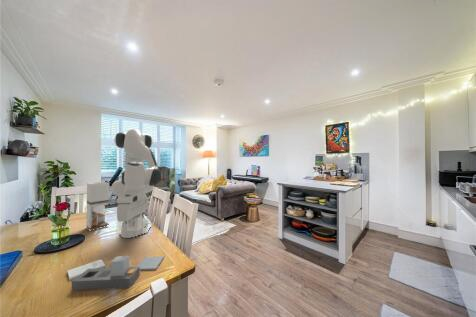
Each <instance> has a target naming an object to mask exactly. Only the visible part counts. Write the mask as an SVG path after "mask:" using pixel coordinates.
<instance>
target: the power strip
mask: <svg viewBox="0 0 476 317" xmlns="http://www.w3.org/2000/svg"><path fill="white" fill-rule="evenodd" d="M139 276H141V271H140V267H136V266H129V270H128V271H127V273H126V274H125V275H124V276H111V267H104V268H96V269H87V270H86V271H85V272H83V273H82V274H81V275H80V276H78V277H77V278H75V279H72V280H71V292H72V291H73V292H74V291H89V290H90V291H93V290H110V289H111V290H113V289H130V288H131V286H133V284H134V283H135V281H136V280H137V279H138V277H139Z"/></svg>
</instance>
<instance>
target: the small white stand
mask: <svg viewBox="0 0 476 317" xmlns="http://www.w3.org/2000/svg"><path fill="white" fill-rule="evenodd" d="M109 204H110V182H109V181H108V182H107V181H97V182H96V181H95V182H86V222H85V224H86V227H87V228H88V229H90V230H93V229H97V228H100V227H104V226H107V225H109V224H110V223H108V222H106V205H109ZM109 226H110V225H109ZM87 228H86V229H87ZM88 229H87V230H88Z"/></svg>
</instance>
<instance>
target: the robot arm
mask: <svg viewBox="0 0 476 317" xmlns="http://www.w3.org/2000/svg"><path fill="white" fill-rule="evenodd" d="M114 143H115V146H116V147H117V148H119V149H124V152H125V154H124V170H123V171H121V179H118V180H115V181H114V182H113V183H112V184H111V187H110V189H111V192H112V193H113V194H114V195H115V196H117V197H118V198H116V204H117V206H116V219H117V221H118V222H121V229H120V232H119V233H118V235H119V234H120V235H119V236H121V238H123V239H125V238H126V239H129V238H131V237H132V238H136V237H139V236H138V235H140V236H142V235H141V234H143V235H145V234H144V233H147V232H148V233H149V231H150V230H149V229H148V228H147V227H148V225H149V219H147V218H146V217H145V216H144V215H146V211H147V210H148V208H149V199H148V198H149V197H148V196H147V193H151V192H152V191H153V190H154V187H156V186H158V185H159V184H160V183H161V182H162V179H163V174H162V171H161V169H160V167H159V165H158V162H157V160H156V158H155V155H154V153H153V151H152V149H151V148H152V145H153V138H152V136H151V134H148V133H142V131H140V130H139V129H129V130H127V131H126V132H122V131H121V132H118V133H116V134H115V137H114ZM144 161H146V162H147V164H148V167H145V164H144ZM136 215H142V228H141V229H140V230H139V233H138V234H137V235H129V231H127V222H128V226H129V227H133V226H134V222H133V217H135V216H136ZM148 230H149V231H148ZM145 231H146V232H145ZM148 233H147V234H148ZM135 236H136V237H135Z"/></svg>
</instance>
